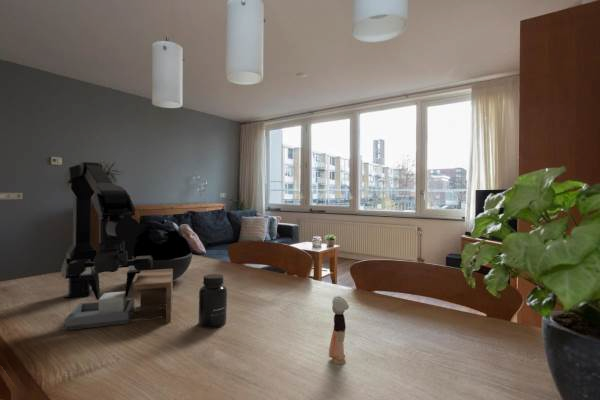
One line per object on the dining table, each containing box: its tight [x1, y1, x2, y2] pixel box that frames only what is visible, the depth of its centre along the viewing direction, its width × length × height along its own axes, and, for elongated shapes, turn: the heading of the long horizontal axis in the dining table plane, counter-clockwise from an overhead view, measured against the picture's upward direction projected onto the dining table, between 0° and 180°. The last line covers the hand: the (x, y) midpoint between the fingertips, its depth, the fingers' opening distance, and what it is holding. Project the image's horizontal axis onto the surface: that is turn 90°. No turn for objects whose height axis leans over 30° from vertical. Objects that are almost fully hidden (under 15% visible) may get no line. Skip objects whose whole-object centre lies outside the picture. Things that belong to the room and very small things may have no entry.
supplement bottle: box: [198, 273, 228, 329], centre depth 80 cm, size 7×7×12 cm
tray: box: [64, 297, 135, 331], centre depth 82 cm, size 11×13×3 cm
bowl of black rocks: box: [131, 229, 193, 281], centre depth 115 cm, size 20×20×19 cm
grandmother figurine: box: [328, 295, 350, 365], centre depth 63 cm, size 8×4×13 cm, turn 5°
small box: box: [98, 290, 128, 314], centre depth 82 cm, size 6×6×5 cm
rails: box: [61, 306, 166, 330], centre depth 83 cm, size 8×23×1 cm, turn 110°
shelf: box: [132, 269, 174, 324], centre depth 86 cm, size 15×8×10 cm, turn 20°
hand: (112, 297), depth 82 cm, fingers open, 6 cm apart
